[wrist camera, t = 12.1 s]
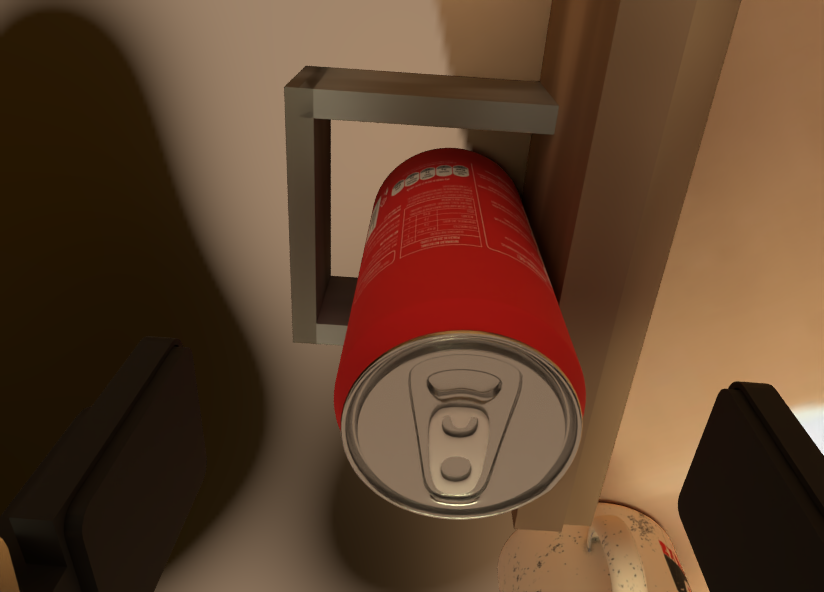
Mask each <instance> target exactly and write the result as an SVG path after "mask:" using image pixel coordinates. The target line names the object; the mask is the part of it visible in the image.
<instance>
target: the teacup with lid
mask: <svg viewBox="0 0 824 592" xmlns="http://www.w3.org/2000/svg"><path fill="white" fill-rule="evenodd" d="M497 571H498V582H499V591H500V592H692V591H691V589H690V586H689V584H688V582H687V579H686V577H685V574H684V572H683V569H682V567H681V564H680V562H679V559H678V557H677V554H676V552H675V550H674V547H673V545H672V542H671V540H670V539H669V537H668V535H667V534H666V532H665V531H664V530H663V529H662V528H661V527H660V526H659V525H658V524H657V523H656V522H655V521H653V520H652V519H651V518H649V517H648V516H646V515H644V514H642V513H640V512H638V511H636V510H633V509H631V508H628V507H624V506H620V505H616V504H610V503H599V502H598V504H597V507H596V511H595V514H594V518H593V521H592V525H591V526H578V525H563V528H562V532H554V531H538V530H522V529H517V530H516V531H515V532H514V533H513V534H512V535H511V536H510V537H509V539H508V540H507V541H506V543H505V544H504V546H503V549H502V550H501V553H500V556H499V560H498V569H497Z"/></svg>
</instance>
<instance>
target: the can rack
mask: <svg viewBox="0 0 824 592" xmlns="http://www.w3.org/2000/svg"><path fill="white" fill-rule="evenodd" d="M740 3H741V0H552V6H551V12H550V19H549V25H548V32H547V38H546V45H545V51H544V58H543V64H542V71H541V77H540V82H533V81H518V80H504V79H489V78H475V77H460V76H446V75H431V74H416V73H402V72H388V71H387V72H386V71H373V70H359V69H344V68H330V67H316V66H305V67H304V68H303V69H302V70H301V71H300V72H299V73H298V74H297V75H296V76H295V77H294V78H293V79H292V80H291V81H290V82H289V83H288V84H287V85H286V86H285V87H284V96H285V126H286V151H287V152H286V154H287V184H288V211H289V241H290V267H291V268H290V269H291V298H292V323H293V324H292V326H293V342H296V343H311V344H326V345H342V346H343V345H344V341H345V336H346V331H347V327H348V322H349V317H350V313H351V308H352V304H353V299H354V294H355V290H356V285H357V280H358V278H354V277H339V276H331V248H330V247H331V202H330V201H331V191H330V190H331V165H330V164H331V160H330V159H331V153H330V152H331V126H330V125H331V124H330V123H331V119H332V120H347V121H362V122H376V123H391V124H407V125H420V126H435V127H449V128H463V129H478V130H493V131H507V132H522V133H532V136H531V142H530V149H529V155H528V161H527V168H526V174H525V181H524V187H523V194H522V200H521V201H522V204H523V207H524V210H525V212H526V215H527V218H528V221H529V224H530V226H531V229H532V232H533V235H534V238H535V240H536V243H537V246H538V249H539V252H540V254H541V257H542V260H543V263H544V265H545V268H546V271H547V274H548V277H549V279H550V282H551V285H552V288H553V291H554V293H555V296H556V299H557V302H558V305H559V307H560V310H561V313H562V316H563V319H564V321H565V324H566V327H567V330H568V333H569V335H570V338H571V341H572V344H573V346H574V349H575V352H576V355H577V358H578V360H579V363H580V366H581V369H582V372H583V376H584V380H585V388H586V404H585V411H584V416H583V419H582V422H583V427H582V436H581V441H580V445H579V448H578V451H577V454H576V456H575V458H574V460H573V462H572V464H571V465H570V467H569V469H568V470H567V471H566V473H565V474H564V475H563V477H562V478H561V479H560V480H559V481H558V482H557V484H556V485H555V486H554V487H553V488H552V489H551V490H550V491H548V492H547V493H545V494H544V495H542V496H541V497H539V498H537V499H535V500H534V501H532V502H530V503H528V504H526V505H524V506H522V507H520V508H517V509H515V510H512V517H513V525H514V529H522V530H538V531H554V532H562V528H563V525H578V526H591V525H592V521H593V518H594V514H595V511H596V507H597V504H598V500H599V497H600V493H601V490H602V486H603V483H604V479H605V476H606V472H607V469H608V465H609V462H610V458H611V455H612V451H613V448H614V444H615V441H616V437H617V434H618V430H619V427H620V423H621V420H622V416H623V413H624V409H625V406H626V402H627V399H628V395H629V392H630V388H631V385H632V381H633V378H634V374H635V371H636V367H637V364H638V360H639V357H640V353H641V350H642V346H643V343H644V339H645V336H646V332H647V329H648V325H649V322H650V318H651V315H652V311H653V308H654V304H655V301H656V297H657V294H658V290H659V287H660V283H661V280H662V276H663V273H664V269H665V266H666V262H667V259H668V255H669V252H670V248H671V245H672V241H673V238H674V234H675V231H676V227H677V224H678V220H679V217H680V213H681V210H682V206H683V203H684V199H685V196H686V192H687V189H688V185H689V182H690V178H691V175H692V171H693V168H694V164H695V161H696V157H697V154H698V150H699V147H700V143H701V140H702V136H703V133H704V129H705V126H706V122H707V119H708V115H709V112H710V108H711V105H712V101H713V98H714V94H715V91H716V87H717V84H718V80H719V77H720V73H721V70H722V66H723V63H724V59H725V56H726V52H727V49H728V45H729V42H730V38H731V35H732V31H733V28H734V24H735V21H736V17H737V14H738V10H739V7H740Z"/></svg>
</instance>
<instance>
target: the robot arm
mask: <svg viewBox="0 0 824 592" xmlns="http://www.w3.org/2000/svg"><path fill="white" fill-rule="evenodd" d="M206 459H207V458H206V450H205V443H204V436H203V428H202V421H201V414H200V406H199V399H198V393H197V384H196V377H195V370H194V363H193V356H192V351H191V349H190V348H188V347H183V346H182V343H181V341H180V340H179V339H176V338H164V337H150V336H147V337H144V338H143V339H142V340H141V341H140V342H139V344H138V345H137V346H136V348H135V349H134V350H133V352H132V353H131V354H130V356H129V357H128V358H127V360H126V361H125V362H124V364H123V365H122V366H121V368H120V369H119V371H118V372H117V373H116V375H115V376H114V377H113V378H112V380H111V381H110V382H109V384H108V385H107V386H106V388H105V389H104V391H103V392H102V393H101V395H100V396H99V397H98V399H97V400H96V401H95V403H94V404H93V405H92V407H88V408H85V409H83V410H82V411H81V412H80V413H79V415H77V416H76V418H75V419H74V420H73V422H72V423H71V425H70V426H69V427H68V428H67V430H66V431H65V432H64V434H63V435H62V436H61V438H60V439H59V440H58V441H57V443H56V444H55V445H54V447H53V448H52V449H51V451H50V452H49V453H48V455H47V456H46V457H45V458H44V460H43V461H42V462H41V464H40V465H39V466H38V468H37V469H36V471H35V472H34V473H33V474H32V476H31V477H30V478H29V480H28V481H27V482H26V483H25V485H24V486H23V487H22V489H21V490H20V491H19V493H18V494H17V495H16V497H15V498H14V499H13V500H12V502H11V503H10V504H9V506H8V507H7V508H6V510H5V511H4V512H3V514H2V515H1V516H0V592H154V590H155V588H156V586H157V583H158V581H159V579H160V577H161V574H162V572H163V569H164V567H165V565H166V563H167V561H168V559H169V556H170V554H171V552H172V549H173V547H174V545H175V543H176V540H177V538H178V536H179V533H180V531H181V529H182V527H183V525H184V522H185V520H186V518H187V515H188V513H189V511H190V509H191V506H192V504H193V502H194V499H195V497H196V495H197V493H198V491H199V488H200V486H201V484H202V481H203V479H204V476H205V472H206V465H207V460H206ZM678 511H679V516H680V519H681V521H682V524H683V526H684V529H685V531H686V534H687V536H688V539H689V541H690V544H691V546H692V549H693V551H694V554H695V556H696V558H697V561H698V563H699V566H700V568H701V571H702V573H703V576H704V578H705V581H706V583H707V586H708V588H709V591H710V592H824V455H823V454H822V453H821V451H820V450H819V449H818V447H817V446H816V444H815V443H814V442H813V440H812V439H811V438H810V436H809V435H808V433H807V432H806V431H805V429H804V428H803V426H802V425H801V424H800V422H799V421H798V420H797V418H796V417H795V415H794V414H793V413H792V411H791V410H790V409H789V407H788V406H787V404H786V403H785V402H784V400H783V399H782V397H781V396H780V395H779V393H778V392H777V391H776V389H775V388H774V387H773V386H772V385H769V384H764V383H751V382H733V383H732V384H731V385H730V386H729V388H728V389H722V390H721V391H720V392H719V394H718V396H717V398H716V401H715V404H714V406H713V409H712V411H711V414H710V417H709V419H708V422H707V424H706V427H705V430H704V432H703V435H702V437H701V440H700V443H699V445H698V448H697V450H696V453H695V456H694V458H693V461H692V463H691V466H690V469H689V471H688V474H687V476H686V479H685V482H684V484H683V487H682V489H681V492H680V495H679V498H678Z"/></svg>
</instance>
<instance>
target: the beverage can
mask: <svg viewBox="0 0 824 592" xmlns="http://www.w3.org/2000/svg"><path fill="white" fill-rule="evenodd" d="M585 404H586V388H585V380H584V376H583V372H582V369H581V366H580V363H579V360H578V358H577V355H576V352H575V349H574V346H573V344H572V341H571V338H570V335H569V333H568V330H567V327H566V324H565V321H564V319H563V316H562V313H561V310H560V307H559V305H558V302H557V299H556V296H555V293H554V291H553V288H552V285H551V282H550V279H549V277H548V274H547V271H546V268H545V265H544V263H543V260H542V257H541V254H540V252H539V249H538V246H537V243H536V240H535V238H534V235H533V232H532V229H531V226H530V224H529V221H528V218H527V215H526V212H525V210H524V207H523V204H522V201H521V198H520V196H519V193H518V191H517V189H516V187H515V185H514V183H513V181H512V180H511V178H510V177H509V176H508V175H507V173H506V172H505V171H504V170H503V169H502V168H501V167H500V166H498V165H497V164H496V163H494V162H493V161H492V160H490V159H488V158H487V157H485V156H483V155H480V154H478V153H475V152H472V151H469V150H465V149H458V148H440V149H433V150H429V151H425V152H422V153H420V154H417V155H415V156H413V157H411V158H409V159H408V160H406V161H405V162H403V163H401V164H400V165H399V166H398V167H397V168H395V169H394V170H393V171H392V172H391V173H390V175H389V176H388V177H387V178H386V180H385V181H384V182H383V184H382V186H381V187H380V189H379V192H378V194H377V196H376V199H375V203H374V207H373V211H372V216H371V220H370V225H369V230H368V234H367V239H366V243H365V248H364V253H363V258H362V262H361V267H360V271H359V276H358V280H357V285H356V290H355V294H354V299H353V304H352V308H351V313H350V317H349V322H348V327H347V331H346V336H345V341H344V345H343V350H342V354H341V359H340V364H339V368H338V373H337V378H336V382H335V390H334V408H335V414H336V419H337V423H338V426H339V428H340V431H341V438H342V444H343V447H344V451H345V453H346V456H347V458H348V460H349V462H350V464H351V466H352V467H353V469H354V471H355V472H356V473H357V475H358V476H359V477H360V479H361V480H362V481H363V482H364V483H365V484H366V485H367V486H368V487H369V488H371V489H372V490H373V491H374V492H375V493H376V494H378V495H379V496H381V497H382V498H384V499H385V500H387V501H389V502H390V503H392V504H394V505H396V506H398V507H400V508H403V509H406V510H408V511H411V512H414V513H417V514H420V515H424V516H429V517H434V518H442V519H454V520H463V519H478V518H485V517H491V516H495V515H499V514H503V513H506V512H509V511H512V510H515V509H517V508H520V507H522V506H524V505H526V504H528V503H530V502H532V501H534V500H535V499H537V498H539V497H541V496H542V495H544V494H545V493H547V492H548V491H550V490H551V489H552V488H553V487H554V486H555V485H556V484H557V482H558V481H559V480H560V479H561V478H562V477H563V475H564V474H565V473H566V471H567V470H568V469H569V467H570V465H571V464H572V462H573V460H574V458H575V456H576V454H577V451H578V448H579V445H580V441H581V436H582V427H583V422H582V419H583V416H584V411H585Z"/></svg>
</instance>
